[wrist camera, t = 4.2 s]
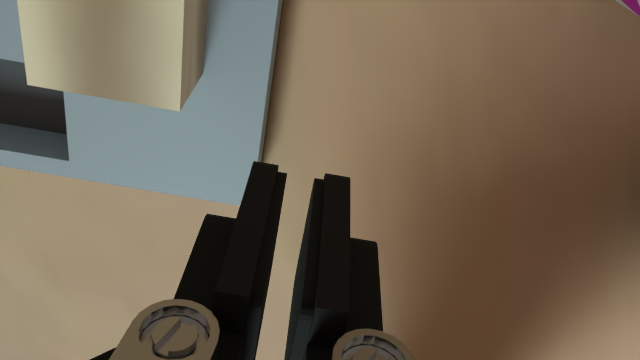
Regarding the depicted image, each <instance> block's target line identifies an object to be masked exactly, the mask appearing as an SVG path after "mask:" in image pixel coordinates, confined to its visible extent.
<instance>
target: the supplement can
mask: <svg viewBox="0 0 640 360" xmlns="http://www.w3.org/2000/svg"><path fill="white" fill-rule="evenodd" d="M615 1H616V2H617V3H619V4H620V5H622V6H624V7H625V8H627V9H628V10H630V11H631V12H633V13H634V14H636V15H638V16H639V17H640V0H615Z"/></svg>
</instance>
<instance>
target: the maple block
mask: <svg viewBox="0 0 640 360" xmlns="http://www.w3.org/2000/svg"><path fill="white" fill-rule="evenodd" d="M17 4H18V13H19V21H20V29H21V37H22V46H23V54H24V62H25V70H26V79H27V85H31V86H37V87H42V88H48V89H54V90H60V91H65V92H71V93H77V94H83V95H88V96H94V97H100V98H105V99H111V100H117V101H123V102H128V103H134V104H140V105H146V106H151V107H157V108H163V109H168V110H174V111H181V109H182V107H183V106H184V104H185V102H186V101H187V99H188V98H189V96H190V94H191V93H192V91H193V89H194V88H195V86H196V84H197V83H198V81H199V80H200V78H201V76H202V75H203V61H204V45H205V28H206V12H207V0H17Z"/></svg>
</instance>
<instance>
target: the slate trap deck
mask: <svg viewBox="0 0 640 360" xmlns="http://www.w3.org/2000/svg"><path fill="white" fill-rule="evenodd" d="M282 7H283V0H207V12H206V28H205V45H204V61H203V75H202V76H201V78H200V80H199V81H198V83H197V84H196V86H195V88H194V89H193V91H192V93H191V94H190V96H189V98H188V99H187V101H186V102H185V104H184V106H183V107H182V109H181V111H174V110H168V109H163V108H157V107H151V106H146V105H140V104H134V103H128V102H123V101H117V100H111V99H105V98H100V97H94V96H88V95H83V94H77V93H71V92H65V91H60V90H54V89H48V88H42V87H37V86H31V85H27V79H26V70H25V62H24V54H23V46H22V37H21V29H20V21H19V13H18V4H17V0H0V166H5V167H11V168H17V169H23V170H28V171H34V172H40V173H46V174H52V175H58V176H64V177H70V178H76V179H82V180H88V181H94V182H100V183H106V184H112V185H118V186H124V187H130V188H136V189H142V190H148V191H154V192H160V193H166V194H172V195H178V196H184V197H190V198H196V199H202V200H208V201H214V202H220V203H226V204H232V205H238V206H240V205H241V201H242V198H243V194H244V191H245V188H246V184H247V181H248V178H249V174H250V171H251V167H252V164H253V161H256V162H262V157H263V149H264V142H265V134H266V127H267V119H268V112H269V104H270V97H271V89H272V82H273V74H274V67H275V59H276V52H277V44H278V37H279V29H280V22H281V14H282Z"/></svg>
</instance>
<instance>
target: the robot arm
mask: <svg viewBox="0 0 640 360" xmlns="http://www.w3.org/2000/svg"><path fill="white" fill-rule="evenodd" d="M286 177H287V173H281V172H278V165H274V164H268V163H262V162H256V161H253V164H252V167H251V171H250V174H249V178H248V181H247V184H246V188H245V191H244V194H243V198H242V201H241V205H240V208H239V211H238V215H237V218H236V219H235V218H229V217H223V216H217V215H211V214H207V215H206V216H205V218H204V221H203V223H202V226H201V228H200V231H199V234H198V236H197V239H196V242H195V244H194V247H193V250H192V252H191V255H190V257H189V260H188V263H187V265H186V268H185V271H184V273H183V276H182V279H181V281H180V284H179V286H178V289H177V292H176V294H175V297H174V299H171V300H163V301H160V302H157V303H154V304H152V305H150V306H148V307H147V308H145V309H144V310H142V311H141V312H140V313H139V314H138V315H137V316H136V317H135V319H134V320H133V321H132V323H131V324H130V326H129V328H128V329H127V331H126V332H125V334H124V336H123V337H122V339H121V341H120V342H119V344H118V346H117V347H116V348H114V349H112V350H110V351H107V352H105V353H103V354H101V355H99V356H97V357H95V358H92V359H90V360H255V357H256V352H257V346H258V341H259V335H260V330H261V324H262V319H263V313H264V308H265V302H266V297H267V291H268V286H269V280H270V274H271V268H272V262H273V256H274V250H275V244H276V238H277V232H278V226H279V220H280V214H281V207H282V201H283V195H284V189H285V183H286ZM284 360H414V358H413V356H412V354H411V352H410V351H409V350H408V349H407V347H406V346H405V345H404V344H403V343H402V342H400V341H399V340H398V339H396V338H395V337H394V336H392V335H389V334H387V333H385V332H383V324H382V309H381V293H380V277H379V261H378V247H377V243H376V242H374V241H368V240H362V239H356V238H350V177H344V176H338V175H332V174H326V173H325V176H324V180H322V179H316V178H315V179H314V183H313V188H312V193H311V198H310V203H309V208H308V213H307V219H306V224H305V229H304V234H303V239H302V244H301V249H300V254H299V259H298V264H297V269H296V275H295V281H294V288H293V296H292V304H291V312H290V320H289V328H288V336H287V343H286V351H285V359H284Z"/></svg>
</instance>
